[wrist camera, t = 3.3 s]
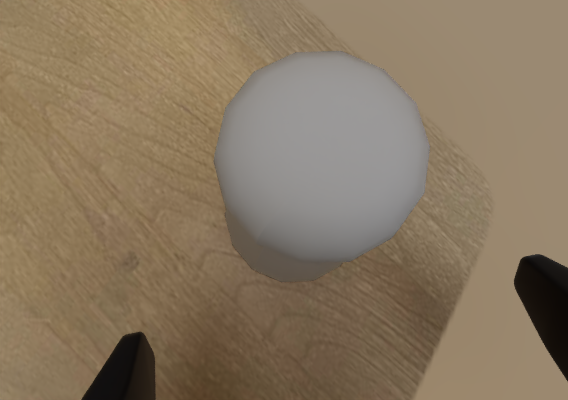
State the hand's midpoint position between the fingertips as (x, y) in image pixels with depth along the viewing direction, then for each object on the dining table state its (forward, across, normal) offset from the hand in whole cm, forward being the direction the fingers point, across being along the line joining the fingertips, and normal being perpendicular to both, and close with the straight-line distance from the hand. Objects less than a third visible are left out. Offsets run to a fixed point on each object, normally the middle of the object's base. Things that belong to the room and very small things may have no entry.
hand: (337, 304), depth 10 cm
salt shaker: (+10, 0, +5) cm, 11 cm away
